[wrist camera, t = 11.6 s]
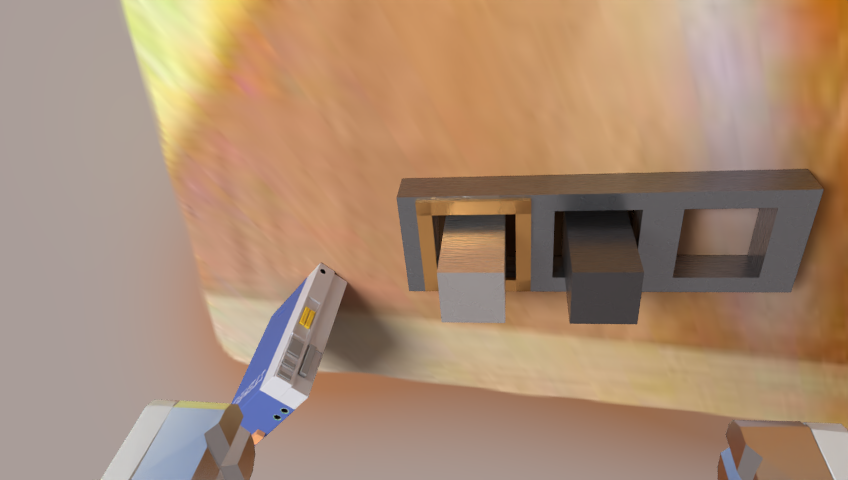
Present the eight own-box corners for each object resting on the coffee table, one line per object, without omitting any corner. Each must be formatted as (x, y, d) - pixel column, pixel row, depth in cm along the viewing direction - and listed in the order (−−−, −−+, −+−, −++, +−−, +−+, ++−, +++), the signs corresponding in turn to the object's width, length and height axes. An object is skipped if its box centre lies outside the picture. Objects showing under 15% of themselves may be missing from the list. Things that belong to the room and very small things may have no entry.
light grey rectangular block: (505, 201, 43) (504, 272, 37) (506, 248, 45) (505, 322, 39) (448, 202, 44) (436, 272, 37) (451, 248, 46) (441, 322, 39)
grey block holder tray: (807, 169, 39) (825, 192, 37) (777, 269, 44) (792, 295, 41) (402, 178, 43) (395, 199, 41) (413, 270, 47) (408, 293, 45)
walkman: (299, 332, 53) (251, 452, 43) (271, 315, 52) (216, 434, 42) (350, 280, 49) (310, 400, 39) (321, 261, 48) (273, 378, 38)
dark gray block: (623, 199, 42) (644, 272, 35) (618, 247, 44) (637, 324, 38) (563, 200, 42) (572, 272, 36) (561, 247, 45) (569, 323, 38)
